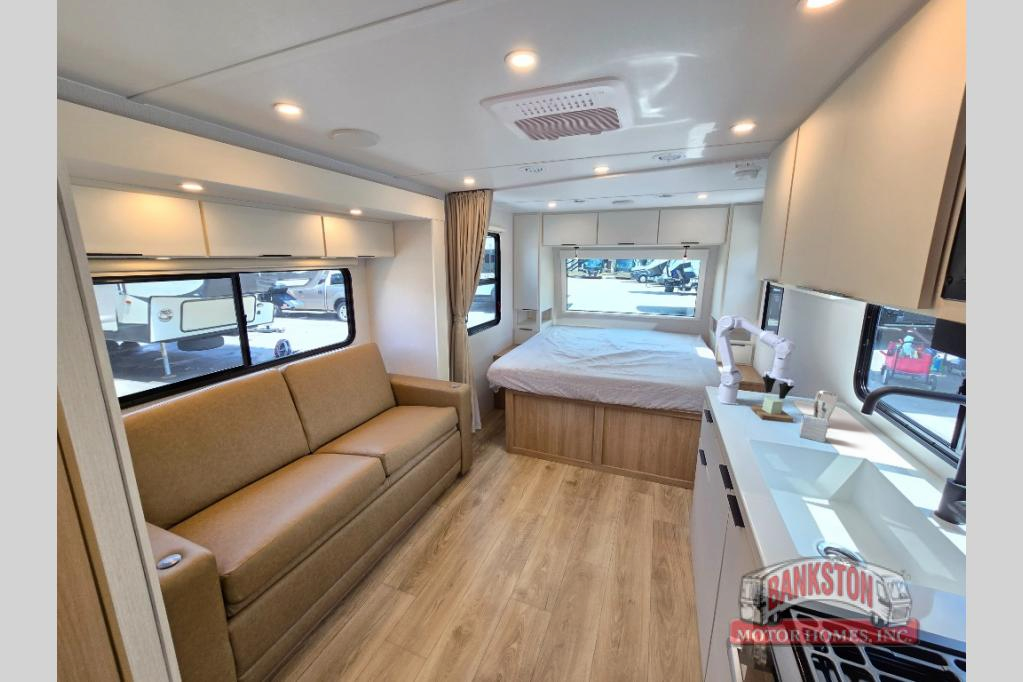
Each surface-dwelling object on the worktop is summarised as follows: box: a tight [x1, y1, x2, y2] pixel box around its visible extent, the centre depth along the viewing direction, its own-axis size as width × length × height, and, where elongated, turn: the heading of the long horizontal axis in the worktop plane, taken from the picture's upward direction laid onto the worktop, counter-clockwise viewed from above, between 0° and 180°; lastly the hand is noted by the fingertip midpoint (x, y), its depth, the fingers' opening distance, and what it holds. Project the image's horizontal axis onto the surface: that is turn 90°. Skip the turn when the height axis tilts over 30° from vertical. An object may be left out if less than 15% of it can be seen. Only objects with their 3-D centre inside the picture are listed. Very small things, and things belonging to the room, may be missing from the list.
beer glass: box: [813, 389, 838, 424], centre depth 155 cm, size 7×7×15 cm
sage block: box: [762, 396, 784, 414], centre depth 164 cm, size 5×5×6 cm
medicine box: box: [798, 414, 830, 444], centre depth 144 cm, size 8×4×9 cm, turn 56°
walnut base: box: [750, 404, 794, 424], centre depth 165 cm, size 12×12×2 cm
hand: (774, 395), depth 163 cm, fingers open, 7 cm apart
